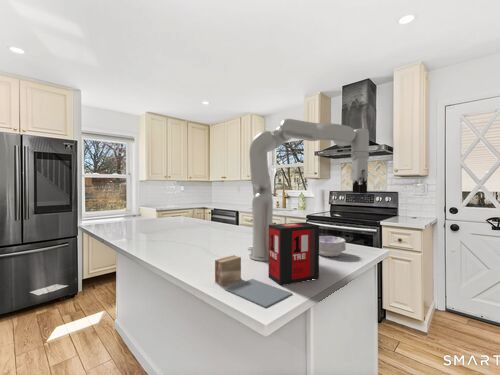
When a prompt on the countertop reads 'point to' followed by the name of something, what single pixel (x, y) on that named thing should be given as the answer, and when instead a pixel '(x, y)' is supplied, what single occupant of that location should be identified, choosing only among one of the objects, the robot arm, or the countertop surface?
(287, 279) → the cleaning product box
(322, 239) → the paper bowls
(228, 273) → the brown block
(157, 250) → the countertop surface
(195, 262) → the countertop surface
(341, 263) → the countertop surface
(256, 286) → the mat
